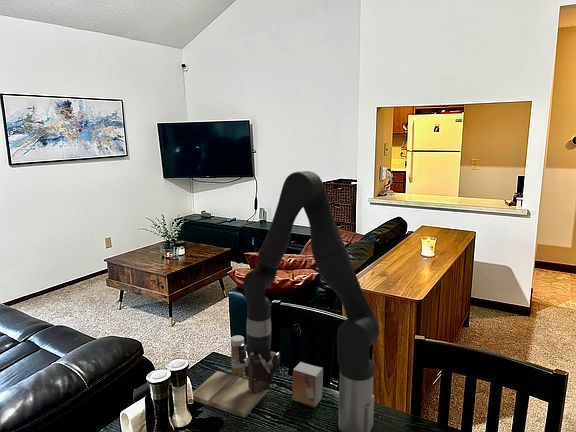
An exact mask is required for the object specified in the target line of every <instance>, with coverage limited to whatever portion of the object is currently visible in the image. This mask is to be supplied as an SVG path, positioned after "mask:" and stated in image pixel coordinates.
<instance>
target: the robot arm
mask: <svg viewBox="0 0 576 432" xmlns="http://www.w3.org/2000/svg"><path fill="white" fill-rule="evenodd" d="M330 207H331V206H330V204H329V199H328V196H327V193H326V189H325V186H324V183H323V180H322V179H321V177H320V175H318V174H316V172H313V171H308V170H307V171H306V170H305V171H303V170H302V171H295V172H292V173H290V174H289V175H288V176H286V178H285V180H284V182H283V185H282V188H281V191H280V195H279V200H278V203H277V206H276V209H275V211H274V216H273V218H272V221H271V224H270V227H269V229H268V231H267V234H266V236H265V237H264V240H263V242H262V244H261V247H260V248H259V251H258V254H257V264H256V265H255V267H254V268H253V269H252V270H250V271H248V272H247V273H246V274H245V276H244V277H243V280H242V281H243V282H242V289H243V292H244V293H243V294H244V298H245V301H246V304H247V307H246V311H247V314H246V315H247V318H246V343H245V342H244V343H242V344H241V345H240V346H239V347H238V350H239V362H240V363H241V364H242V363H243V364H244V375H246V378H248V365H249V356H248V357H247V354H249V353H250V355H251V356H254V355H257V356H258V357H259V358H260V359H261V362H262V364H263V366H264V367H265V368H266V370H267V383H270V384H271V382H272V381H274V374H276V373H277V372H278V371H279V369H280V367H281V366H280V365H281V364H280V362H281V352H280V351H277V352H275V351H273V350H272V346H271V345H272V320H271V301H270V299H269V298H268V297H267V296H266V295H265V294H266V290H267V289H268V288H269V287H270V286H271V285H272V284H273V282H274V280H275V279H276V276H277V273H278V270H279V266H280V263H281V262H282V260H283V258H284V255H285V254H286V252H287V250H288V247H289V244H290V241H291V236H292V230H293V226H294V223H295V221H296V219H297V217H298V215H299V213H300V212H301V210H302V209H303V210H304V213H305V215H306V217H307V220H308V223H309V228H310V231H309V232H310V247H311V254H312V257H313V259H314V263H315V264H316V265H315V266H316V267H317V271H318V273H319V275H320V277H321V278H322V280H323V282H324V283H326V285H327V286H329V288H330V289H331V290H332V291H333V292H334V293H335V294H336V296H338V298H339V300H340V301H341V304H342V306H343V309H344V311H345V314H346V320H344V321H343V322H341V324H340V325H339V326H338V330H337V335H336V352H337V353H336V354H337V355H336V358H337V362H338V365H339V383H338V384H339V385H338V390H339V391H338V412H337V413H338V414H337V415H338V418H337V420H338V422H337V427H338V429H339V431H340V432H371V431H372V428H373V427H374V416H375V415H374V414H375V413H374V411H375V395H374V376H375V375H374V374H375V373H374V372H375V365H374V362H373V360H372V359H370V348H371V346H372V345H374V343H375V342H376V341H377V340H378V338H379V335H380V325H379V323H378V320H377V318H376V316H375V314H374V312H373V310H372V308H371V306H370V304H369V302H368V300H367V298H366V296H365V295H364V292H363V289H362V287H361V285H360V281H359V280H358V276H357V275H356V272H355V269H354V267H353V264H352V261H351V258H350V256H349V255H350V254H349V253H348V251H347V248H346V246H345V243H344V241H343V238H342V236H341V233H340V231H339V228H338V226H337V224H336V221H335V219H334V216H333V214H332V211H331V208H330ZM269 356H271V357H270V361H268V362H267V363H266V360H267V358H268V357H269ZM269 364H270V367H269Z"/></svg>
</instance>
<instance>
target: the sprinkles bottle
mask: <svg viewBox="0 0 576 432" xmlns="http://www.w3.org/2000/svg"><path fill="white" fill-rule="evenodd" d="M242 343H245V337H244V336H242V335H233V336H232V337H230V346H231V347H230V354H231V355H230V359H231V360H230V361H231V373H230V375H234V376H238V377H241V378H242V377H243V376H244V375H245V366H244V364H243V363H242V364H241V363H240V362H239V350H238V347H239V346H240V345H241V344H242Z"/></svg>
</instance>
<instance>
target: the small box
mask: <svg viewBox="0 0 576 432" xmlns="http://www.w3.org/2000/svg"><path fill="white" fill-rule="evenodd" d="M323 376H324V368H323V367H321V366H316V365H312V364H310V363H305V362H304V361H299V363H297V365H296V366H295V367H294V368H293V369H292V392H291V393H292V394H291V395H292V396H291V397H292V398H291V399H292V401H295V402H299V403H302V404H304V405H307V406H310V407H312V408H316V407H317V406H318V404H319V402H321V400H322V399H323V380H324V379H323V378H324V377H323Z"/></svg>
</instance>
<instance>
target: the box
mask: <svg viewBox="0 0 576 432" xmlns="http://www.w3.org/2000/svg"><path fill="white" fill-rule="evenodd" d="M247 354H248V357H249V365H248V377H247V378H248V387H249V389H250V391H251V392H252V393H253V394H254V393H258V392H261V391H265V390H269V391H270V388H271V385H270V384H271V382H270V383H267V370H266V368H265V367H264V366H263V364H262V362H261V359H260V358H259V357H258V356H257V355H254V356H251V355H250V353H247ZM270 358H272V356H271V355H270V356H269V357H268V358H267V360H266V363H267V362H268V361H270ZM269 367H270V364H269Z"/></svg>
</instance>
